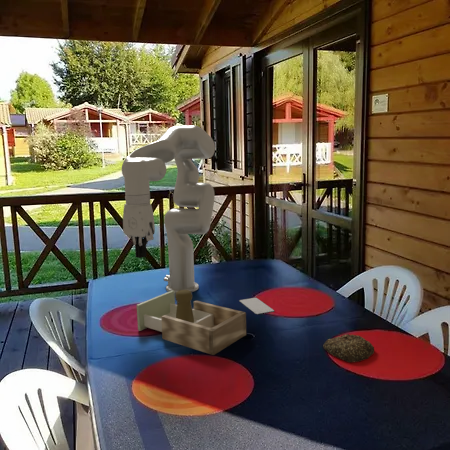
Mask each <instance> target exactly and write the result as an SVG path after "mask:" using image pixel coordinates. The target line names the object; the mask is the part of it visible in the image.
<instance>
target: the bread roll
mask: <svg viewBox="0 0 450 450" xmlns="http://www.w3.org/2000/svg"><path fill="white" fill-rule="evenodd" d="M322 347H323V349H324V350H325V351H327V353H328V354H330V355H332V356H333V357H336V358H338V359H339V360H342V361H344V362H346V363H358V362H362V361H364V360H368V359H369V358H370V357H371V356H373V355H374V353H375V346H373V344H372V343H371V342H370V341H368V340H366V338H364V337H363V336H361V335H357V334H356V335H355V334H349V333H347V334H343V335H341V336H337V337H336V336H335V337H333V338H329V339H328V338H327V340H325V341H324V344H323V346H322Z"/></svg>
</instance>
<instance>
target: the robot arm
mask: <svg viewBox="0 0 450 450" xmlns="http://www.w3.org/2000/svg"><path fill="white" fill-rule="evenodd" d="M215 151H216V146H215V142H214V140H213V138H212V136H211V135H209V134H208V133H207V132H206V131H205V130H204V129H203V128H201V127H200V126H198V125H194V124H193V125H173V126H171V127H169V128H168V129H167V130H166V131H164V133H162V134H161V136H160V137H159V138H158V139H157V140H156V141H153V142H150V143H148V144H146V145H143V146H140V147H139V148H137V149H134V150H133V151H132V152H130V153H129V154H128V155H127V156H126V158H125V159H124V160H123V162H122V166H121V174H122V176H123V178H124V192H125V193H124V195H125V196H124V199H125V203H124V205H123V211H122V213H123V214H122V229H123V234H124V235H125V236H127V238H129V239H131V240H132V244H133V245H134V249H135V251H134V252H135V258H139V259H142V258H146V257H147V255H148V254H147V245H148V243H149V242H150V241H153V240H155V238H154V235H155V231H156V230H155V229H156V227H155V225H156V224H155V215H154V212H153V211H154V210H153V207H152V204H151V192H150V189H151V188H150V182H159V181H161V180H163V179H164V178H165V176H166V174H167V163H170V162H172V161H173V160H174V162H175V165H176V168H177V173H176V174H177V175H176V181H175V185H174V190H173V196H172V197H173V199H172V201H173V203H174V205H176V206H177V207H179V208H171V209H169V210H167V212H166V213H164V214H165V215H164V217H163V219H164V227H165V231H166V237H167V246H168V247H167V248H168V268H169V269H168V272H169V274H166V275H165V277H164V278H163V282H167V285H166V287H165V290H166V292H169V291H172V290H173V291H174V292H175V294H176V292H177V291H179V290H189V291H191V293H193V292H196V291H197V290H199V284H198V283H197V282H195V264H194V263H195V262H194V259H195V258H194V242H193V241H192V239H191V237H190V235H206V234H207V233H208V232H209V231H210V228H211V224H212V216H213V211H214V205H215V204H214V203H215V189H214V187H213V186H212V185H211V184H210V183H207V182H199V179H200V171H199V169H198V167H197V166H196V165H195V164H194V162H193V161H192V160H200V159H201V160H203V159H204V160H205V159H207V160H208V159H211V158H212V157H213V156H214V155H215Z"/></svg>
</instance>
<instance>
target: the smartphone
mask: <svg viewBox="0 0 450 450" xmlns="http://www.w3.org/2000/svg"><path fill="white" fill-rule="evenodd" d="M238 301H239V302H240V303H241V304H242V305H243V306H244V307H246V308H247V309H248V310H250V311H251V312H252V313H253V314H255V315H263V313H264V314H269V312H270V313H275V310H274V309H273V308H272V307H270V306H269V305H267V303H264V301H262V300H260V299H259V298H257V297H251V298H244V299H239V300H238Z"/></svg>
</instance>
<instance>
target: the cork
mask: <svg viewBox="0 0 450 450" xmlns="http://www.w3.org/2000/svg"><path fill="white" fill-rule="evenodd" d="M192 300H193V292H191V291H189V290H179V291H177V292H176V293H175V302H176V305H177V310H176V318H177V319H181V320H184V321H188V322H192V323H194V317H193V311H192V309H193V307H192Z"/></svg>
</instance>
